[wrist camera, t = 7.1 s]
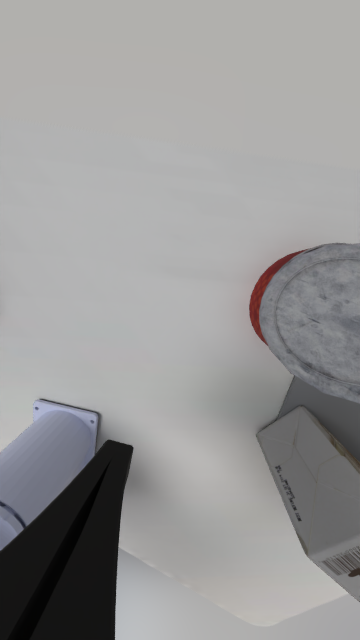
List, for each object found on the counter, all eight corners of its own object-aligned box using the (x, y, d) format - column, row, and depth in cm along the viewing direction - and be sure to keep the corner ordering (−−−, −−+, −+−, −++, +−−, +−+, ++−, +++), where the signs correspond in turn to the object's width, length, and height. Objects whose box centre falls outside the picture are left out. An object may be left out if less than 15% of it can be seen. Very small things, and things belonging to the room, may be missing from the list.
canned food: (250, 332, 22) (222, 370, 14) (268, 246, 19) (246, 233, 11) (373, 364, 16) (444, 458, 8) (433, 249, 13) (646, 227, 5)
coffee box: (302, 401, 18) (386, 488, 20) (253, 433, 19) (336, 511, 22) (410, 522, 9) (538, 653, 11) (306, 566, 11) (438, 676, 13)
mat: (412, 485, 20) (415, 489, 19) (263, 450, 20) (264, 453, 20) (471, 405, 17) (475, 408, 17) (297, 368, 18) (299, 369, 17)
